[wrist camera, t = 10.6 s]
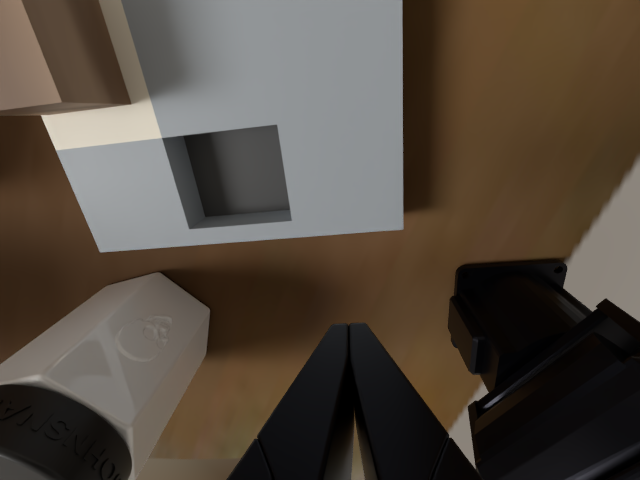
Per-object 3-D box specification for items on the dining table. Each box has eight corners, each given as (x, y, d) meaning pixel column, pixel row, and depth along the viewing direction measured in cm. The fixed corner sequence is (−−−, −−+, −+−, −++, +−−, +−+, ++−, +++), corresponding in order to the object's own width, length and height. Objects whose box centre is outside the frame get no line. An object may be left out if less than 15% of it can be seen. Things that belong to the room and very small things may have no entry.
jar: (236, 323, 23) (138, 520, 12) (180, 377, 26) (58, 579, 15) (134, 248, 21) (-97, 400, 10) (85, 315, 24) (-140, 494, 13)
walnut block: (94, -12, 13) (-3, -60, 9) (131, 104, 15) (62, 102, 11) (0, 4, 14) (-127, -35, 10) (47, 115, 15) (-46, 116, 12)
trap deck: (388, -308, 11) (400, -418, 9) (395, 214, 19) (403, 229, 16) (-40, -195, 13) (-122, -260, 11) (127, 236, 21) (100, 252, 18)
